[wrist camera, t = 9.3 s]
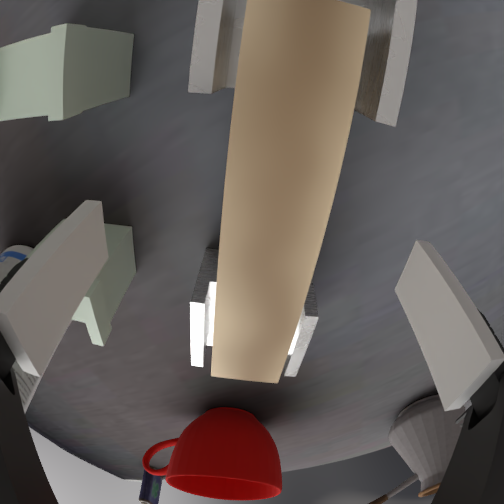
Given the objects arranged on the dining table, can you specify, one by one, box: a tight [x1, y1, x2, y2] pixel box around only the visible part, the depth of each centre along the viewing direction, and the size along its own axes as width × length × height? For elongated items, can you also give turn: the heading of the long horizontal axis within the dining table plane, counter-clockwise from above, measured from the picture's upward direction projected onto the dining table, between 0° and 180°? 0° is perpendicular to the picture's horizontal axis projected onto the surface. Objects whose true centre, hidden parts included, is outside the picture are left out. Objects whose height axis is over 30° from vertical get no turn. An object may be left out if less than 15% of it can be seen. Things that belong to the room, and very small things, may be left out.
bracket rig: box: [188, 0, 417, 377], centre depth 13 cm, size 7×24×12 cm, turn 173°
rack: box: [0, 23, 136, 346], centre depth 15 cm, size 7×17×8 cm, turn 173°
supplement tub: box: [0, 245, 72, 413], centre depth 18 cm, size 10×10×15 cm
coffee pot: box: [369, 395, 465, 504], centre depth 30 cm, size 21×12×15 cm, turn 112°
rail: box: [211, 0, 371, 383], centre depth 14 cm, size 4×19×4 cm, turn 173°
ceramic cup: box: [142, 407, 282, 500], centre depth 31 cm, size 13×17×10 cm
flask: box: [139, 467, 163, 504], centre depth 51 cm, size 9×3×11 cm, turn 0°
